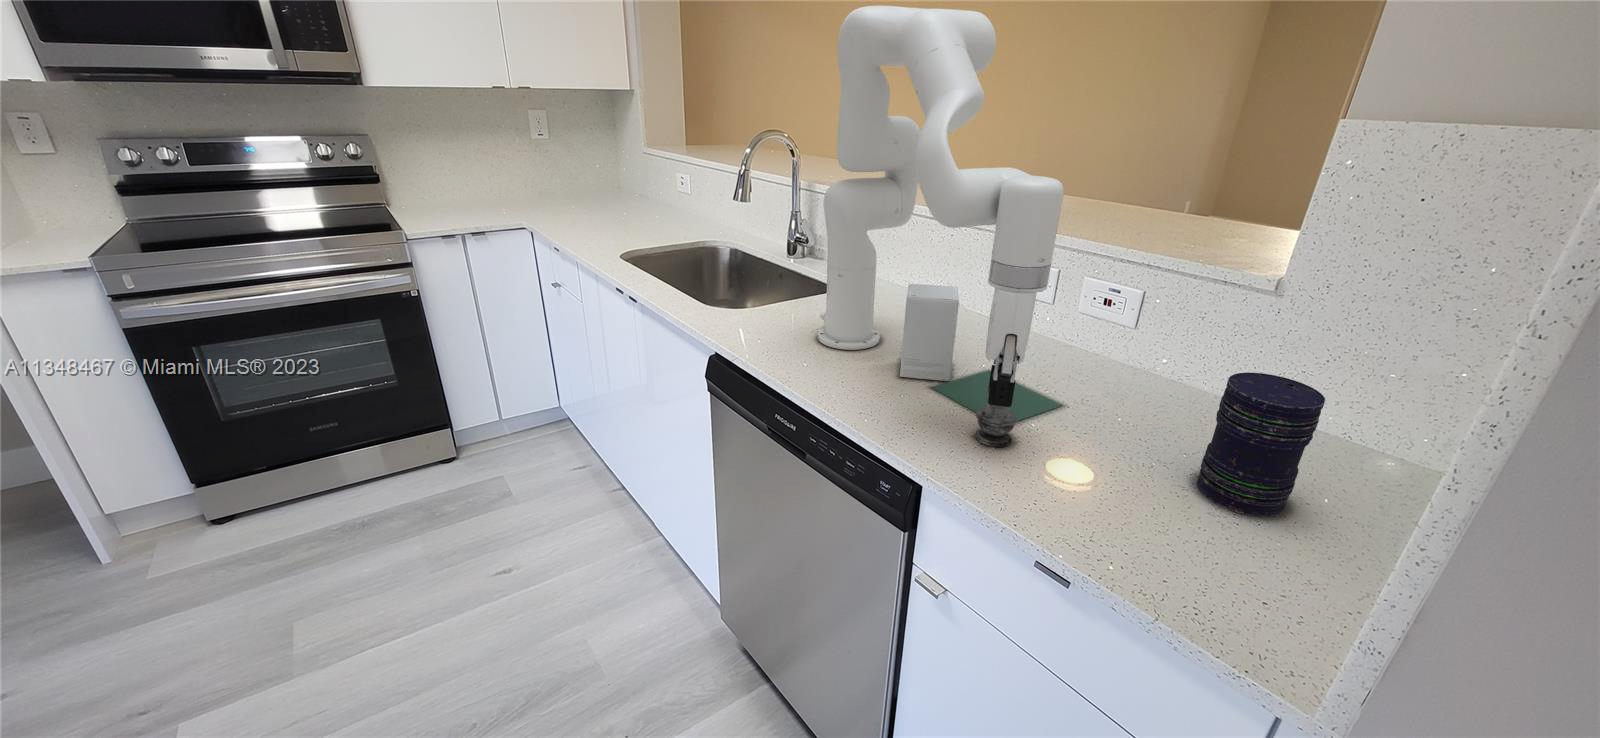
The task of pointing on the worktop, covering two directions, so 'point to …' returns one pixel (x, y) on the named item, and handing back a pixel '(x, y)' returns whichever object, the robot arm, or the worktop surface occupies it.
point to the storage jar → (1258, 443)
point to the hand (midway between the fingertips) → (999, 397)
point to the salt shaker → (995, 425)
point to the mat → (976, 396)
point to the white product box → (929, 331)
